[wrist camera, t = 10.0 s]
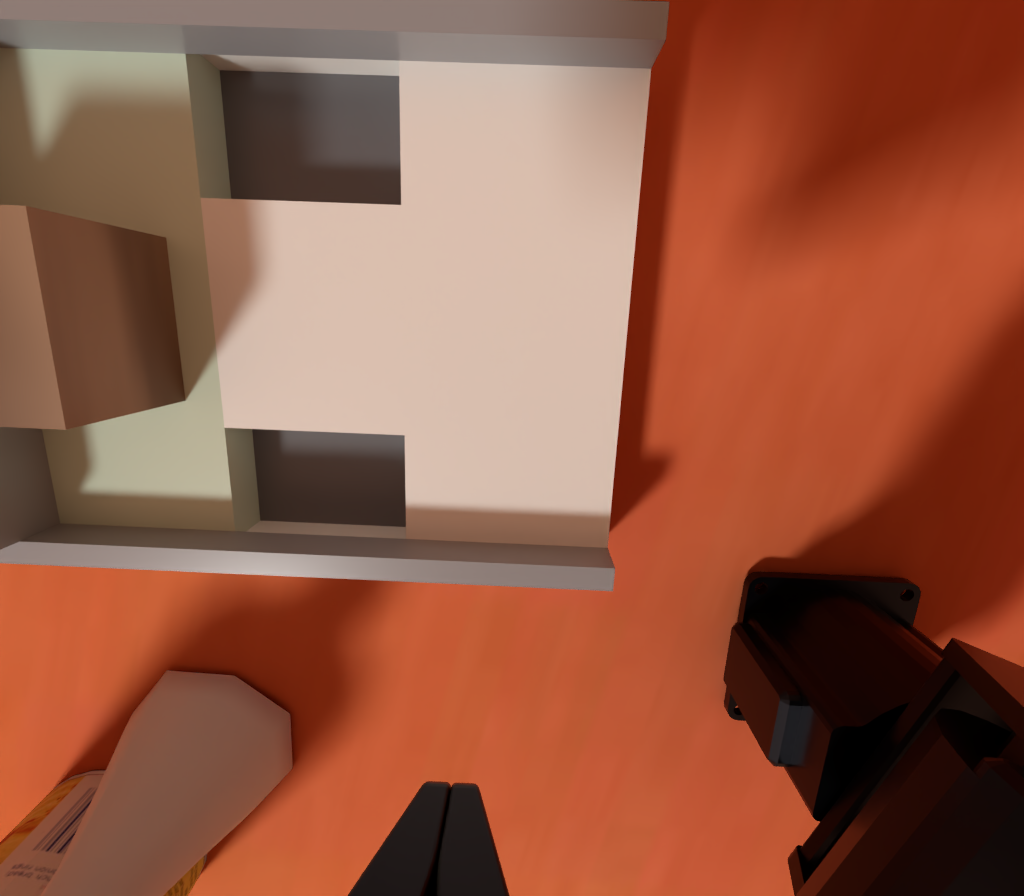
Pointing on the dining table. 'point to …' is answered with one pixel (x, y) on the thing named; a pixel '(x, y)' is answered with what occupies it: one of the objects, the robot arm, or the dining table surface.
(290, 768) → the flask
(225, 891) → the dining table surface
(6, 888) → the canned food
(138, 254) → the walnut block
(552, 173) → the box
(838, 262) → the dining table surface
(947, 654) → the robot arm
